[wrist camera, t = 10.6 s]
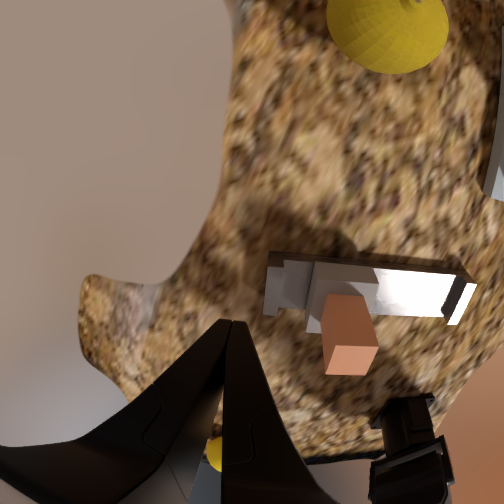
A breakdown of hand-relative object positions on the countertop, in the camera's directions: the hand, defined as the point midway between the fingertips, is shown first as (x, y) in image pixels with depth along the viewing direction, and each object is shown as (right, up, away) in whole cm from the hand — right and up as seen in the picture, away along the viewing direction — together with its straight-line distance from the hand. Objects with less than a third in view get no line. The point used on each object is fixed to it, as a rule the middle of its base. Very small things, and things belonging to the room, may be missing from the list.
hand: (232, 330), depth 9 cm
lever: (+6, 0, +11) cm, 13 cm away
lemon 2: (+7, +15, +4) cm, 17 cm away
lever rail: (+10, 0, +12) cm, 16 cm away
